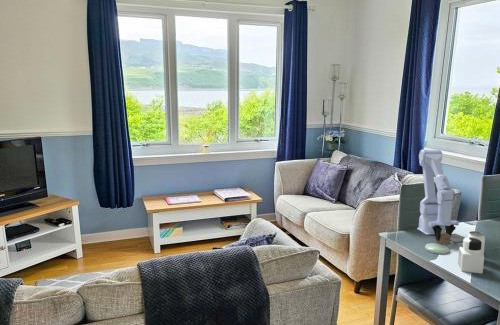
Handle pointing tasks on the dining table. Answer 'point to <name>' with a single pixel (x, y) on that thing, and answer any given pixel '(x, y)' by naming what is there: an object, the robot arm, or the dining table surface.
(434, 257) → the dining table surface
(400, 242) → the dining table surface
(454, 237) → the slate coaster
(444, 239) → the walnut block
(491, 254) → the dining table surface
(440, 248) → the sage dish
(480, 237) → the can
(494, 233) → the dining table surface
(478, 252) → the container
